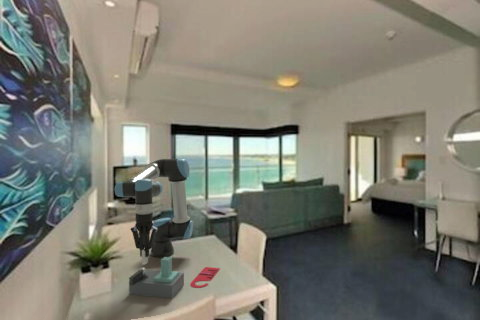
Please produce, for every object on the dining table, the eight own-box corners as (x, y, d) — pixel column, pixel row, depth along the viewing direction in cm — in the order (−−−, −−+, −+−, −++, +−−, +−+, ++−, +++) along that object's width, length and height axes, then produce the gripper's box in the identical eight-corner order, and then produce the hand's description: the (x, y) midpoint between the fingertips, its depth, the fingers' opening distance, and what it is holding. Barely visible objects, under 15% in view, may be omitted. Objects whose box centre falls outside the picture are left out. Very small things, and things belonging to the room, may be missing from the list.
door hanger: (220, 268, 162) (204, 288, 138) (220, 269, 162) (204, 289, 138) (205, 266, 165) (187, 286, 140) (205, 267, 165) (187, 287, 141)
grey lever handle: (141, 275, 140) (141, 267, 140) (147, 275, 139) (147, 267, 139) (128, 286, 129) (128, 277, 129) (134, 286, 128) (133, 277, 128)
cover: (162, 273, 143) (162, 254, 142) (179, 274, 141) (178, 255, 141) (153, 281, 134) (153, 261, 134) (171, 282, 132) (170, 262, 132)
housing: (144, 281, 148) (144, 269, 147) (184, 284, 143) (183, 272, 143) (129, 294, 134) (129, 281, 134) (172, 298, 130) (172, 284, 129)
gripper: (126, 214, 127) (127, 265, 127) (153, 214, 125) (153, 267, 125) (135, 210, 135) (136, 259, 135) (160, 211, 132) (161, 261, 132)
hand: (144, 263), depth 130 cm, fingers closed
